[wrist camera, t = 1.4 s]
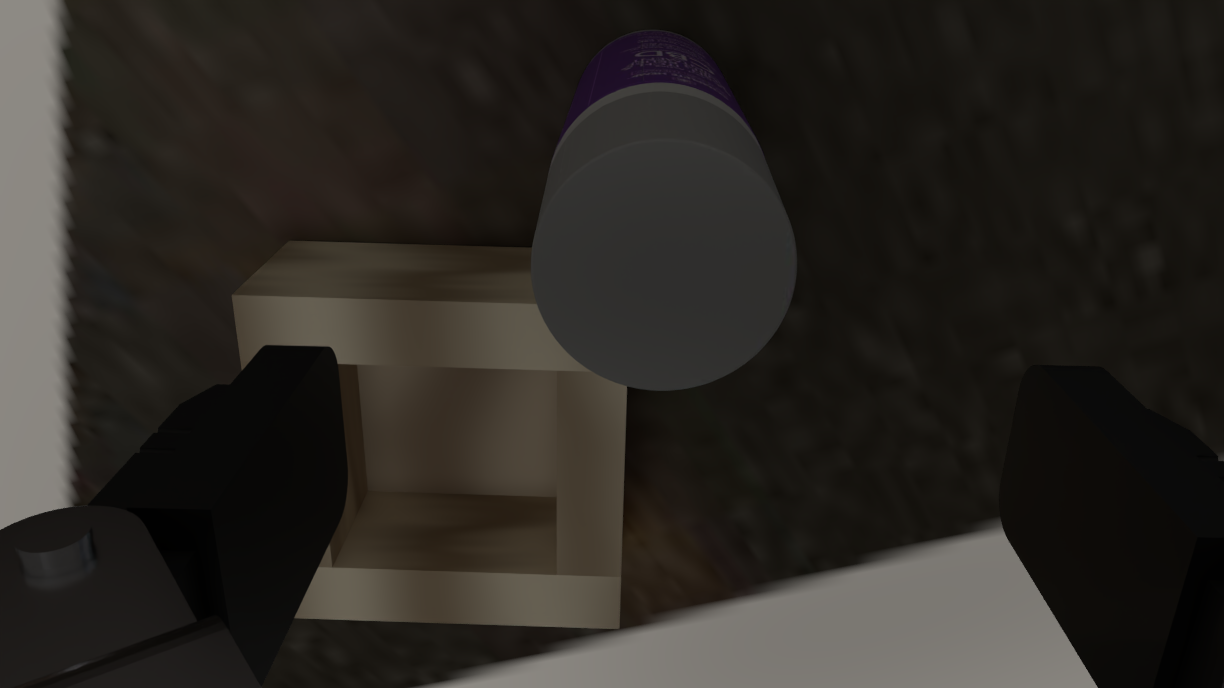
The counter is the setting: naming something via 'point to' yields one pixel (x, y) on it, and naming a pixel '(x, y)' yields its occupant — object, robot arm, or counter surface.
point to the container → (660, 222)
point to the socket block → (452, 437)
